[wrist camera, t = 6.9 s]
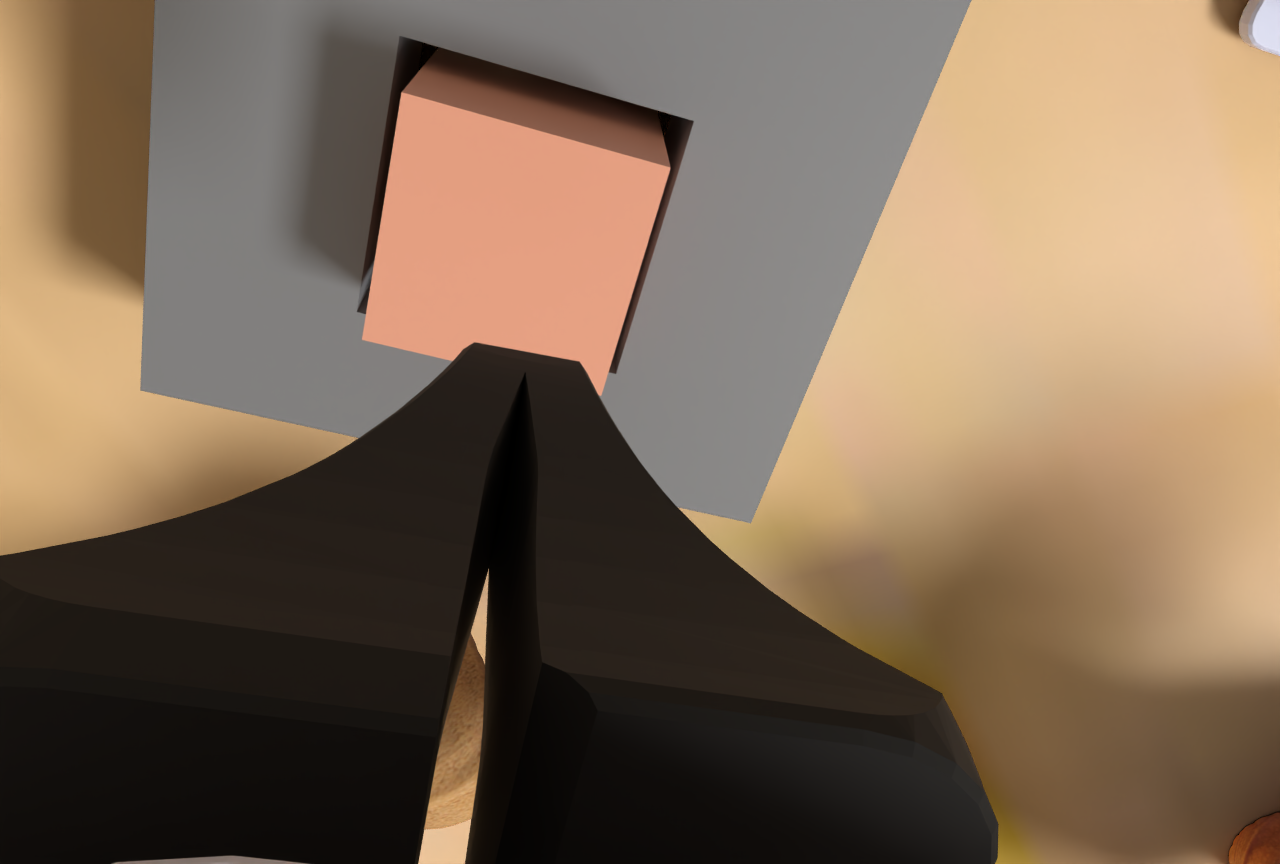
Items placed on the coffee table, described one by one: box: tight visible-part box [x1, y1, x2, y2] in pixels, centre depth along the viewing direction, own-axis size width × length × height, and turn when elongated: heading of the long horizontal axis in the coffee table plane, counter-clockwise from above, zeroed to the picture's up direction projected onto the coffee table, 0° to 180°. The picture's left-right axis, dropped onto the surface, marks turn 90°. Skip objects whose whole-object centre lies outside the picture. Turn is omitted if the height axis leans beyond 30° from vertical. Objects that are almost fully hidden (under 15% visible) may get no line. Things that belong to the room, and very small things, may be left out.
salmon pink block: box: [362, 47, 671, 396], centre depth 17 cm, size 4×4×4 cm
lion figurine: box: [424, 633, 485, 829], centre depth 21 cm, size 15×5×9 cm, turn 135°
